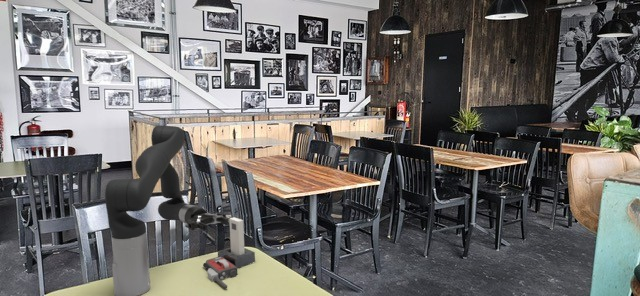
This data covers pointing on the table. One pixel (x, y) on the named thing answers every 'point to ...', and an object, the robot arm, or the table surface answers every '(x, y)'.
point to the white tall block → (237, 236)
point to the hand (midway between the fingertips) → (216, 224)
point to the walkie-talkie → (219, 269)
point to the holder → (238, 257)
